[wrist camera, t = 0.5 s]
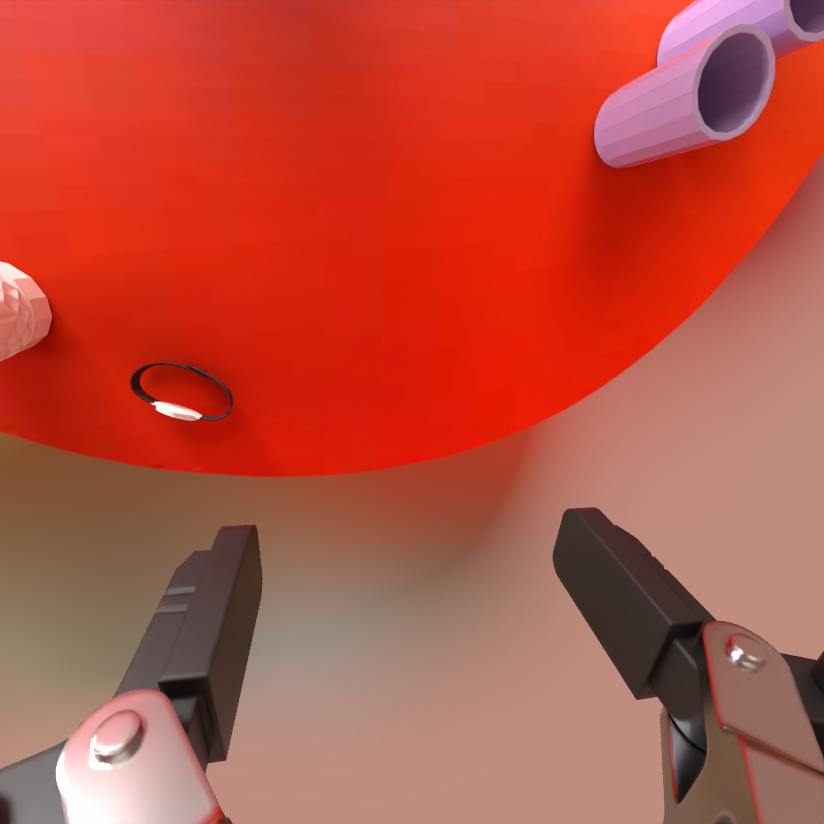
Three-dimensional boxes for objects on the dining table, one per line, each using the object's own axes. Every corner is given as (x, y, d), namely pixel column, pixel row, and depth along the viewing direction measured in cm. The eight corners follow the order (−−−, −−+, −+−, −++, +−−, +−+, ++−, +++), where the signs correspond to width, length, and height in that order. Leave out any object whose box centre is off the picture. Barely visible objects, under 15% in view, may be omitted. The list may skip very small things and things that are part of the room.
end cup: (601, 82, 32) (708, 17, 23) (663, 89, 33) (789, 30, 24) (587, 166, 35) (681, 136, 25) (646, 170, 36) (756, 143, 27)
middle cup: (667, 1, 31) (807, -101, 22) (729, 11, 32) (888, -82, 23) (648, 94, 33) (769, 35, 24) (708, 100, 34) (844, 46, 25)
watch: (135, 394, 34) (114, 410, 31) (149, 345, 33) (129, 355, 30) (227, 424, 37) (217, 441, 33) (243, 379, 35) (235, 392, 32)
